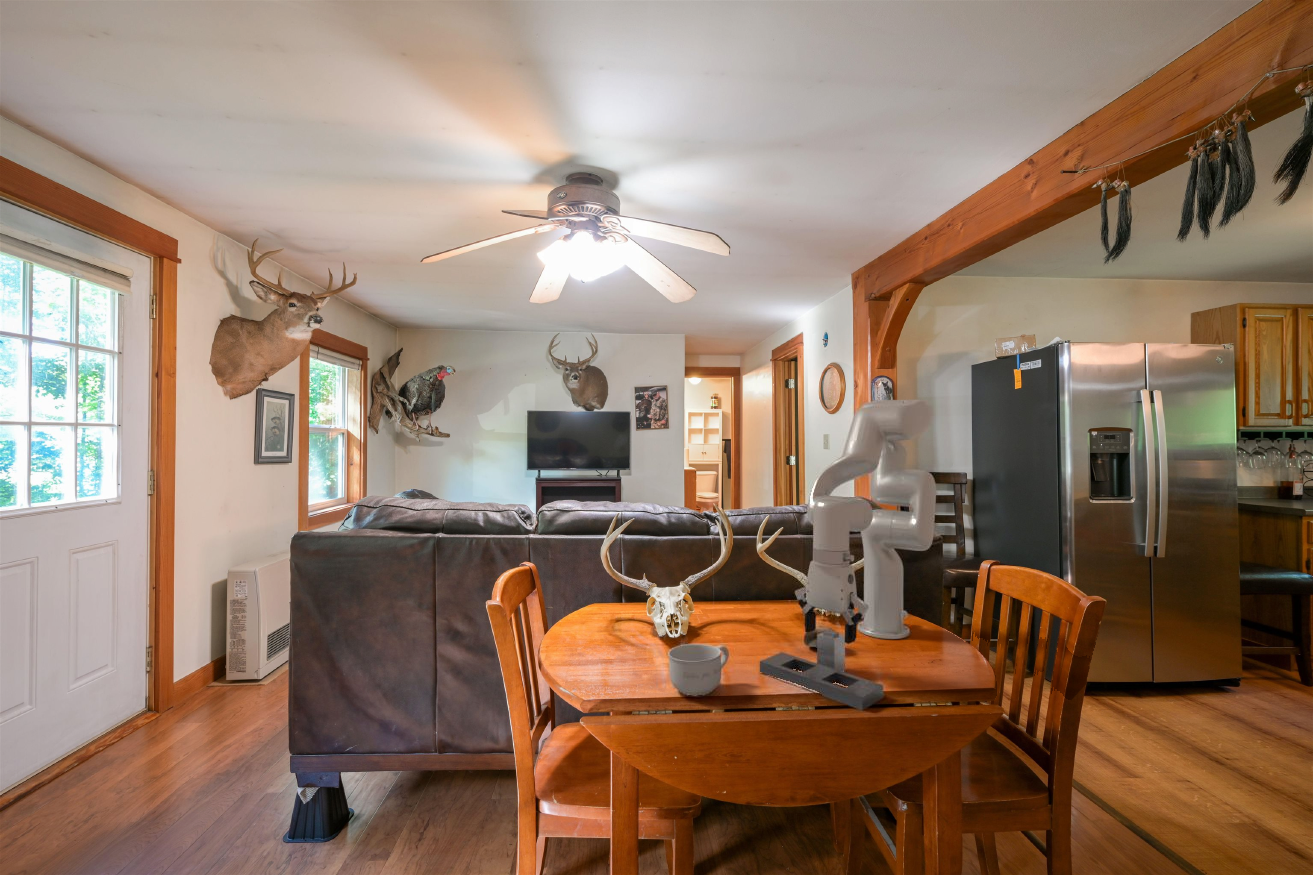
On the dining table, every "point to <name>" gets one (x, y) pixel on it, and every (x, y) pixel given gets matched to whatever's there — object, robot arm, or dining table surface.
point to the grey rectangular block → (831, 650)
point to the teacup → (696, 667)
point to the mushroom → (814, 636)
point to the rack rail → (823, 680)
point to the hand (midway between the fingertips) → (829, 636)
